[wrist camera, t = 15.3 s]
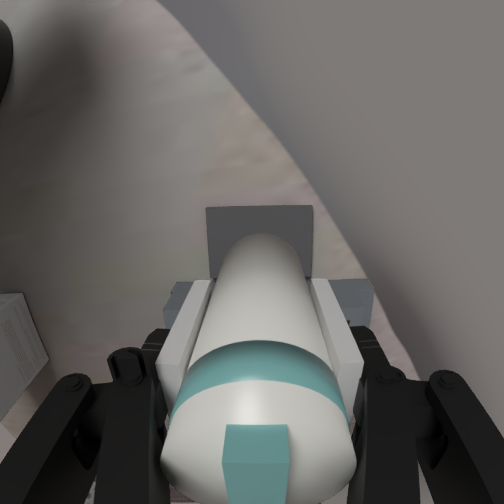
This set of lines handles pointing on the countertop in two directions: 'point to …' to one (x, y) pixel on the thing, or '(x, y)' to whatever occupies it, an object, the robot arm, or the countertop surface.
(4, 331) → the supplement box
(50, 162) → the countertop surface
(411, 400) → the robot arm
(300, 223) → the mat
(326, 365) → the cartridge
